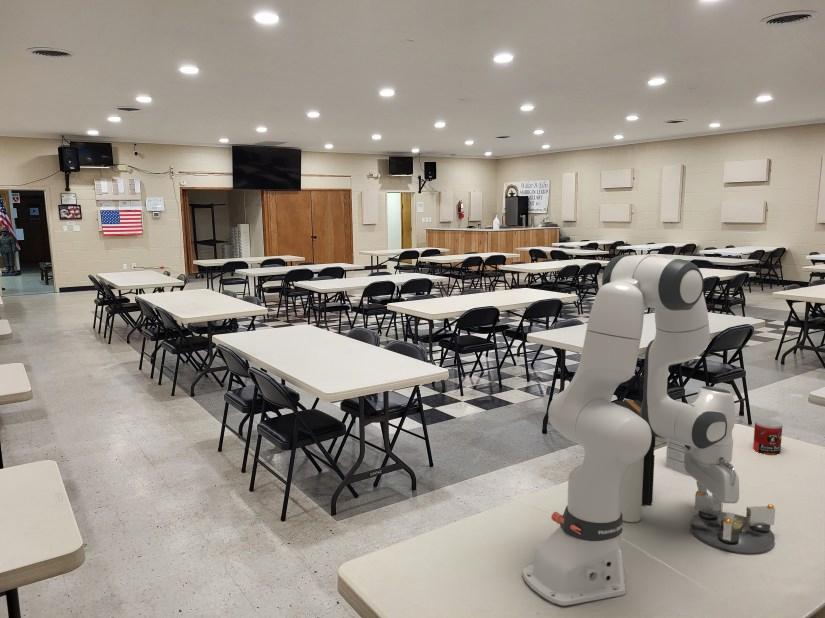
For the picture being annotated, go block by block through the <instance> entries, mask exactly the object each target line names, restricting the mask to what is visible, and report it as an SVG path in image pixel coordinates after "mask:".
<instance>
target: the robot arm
mask: <svg viewBox="0 0 825 618" xmlns="http://www.w3.org/2000/svg"><path fill="white" fill-rule="evenodd" d="M601 284H602V286H600V288H599V289H598V291H597V293H596V295H595V298H594V299H593V303H592V307H591V309H590V312H589V316H588V319H587V320H588V321H587V325H586V330H585V335H584V340H583V346H582V350H581V355H580V360H579V362H578V363H579V364H578V366H577V369H576V371H575V374H574V375H573V378H572V379H571V381H570V382H569V384H568V385H567V386H566V388H565V389H563V390H562V391H561V392H558V393H557V394H556V395H555V396H554V397H553V398H552V400H551V401H550V403H549V406H548V410H547V411H548V414H547V416H548V420H549V422H550V425H551V426H552V427H553V428H554V429H555V430H557V432H558V433H560V434H561V435H562V437H564V438H565V439H568V440H570V441H571V442H573V443H576V444H577V445H579V446H581V447H583V450H584V451H583V452H584V454H583V455H584V456H583V461H582V463H581V464H579V465H576V467H574V468H573V469H571V471H570V472H569V474H568V477H567V479H568V480H567V505H566V507H565V509H564V511H563V513H562V514H560V512H558V511H554V512H552V514H551V517H550V518H551V520H552V521H553V522H555V523H556V524H558V525H559V526H558V527H557V528H556V529H555V530H554V531H553V532H552V534H550V536H549V537H547V538H546V539H545V540H544V541H543V542H542V543H541V544H540V545H539V546H538V547H537V549H536V550H535V554H534V559H533V563H531V564H529V565H527V566H525V567H524V568H523V569H522V573H521V574H522V578H523V580H524V581H525V582H526V584H527V585H528V586H529V587H530V588H531V589H532V590H533V591H534V592H536V593H537V594H538V595H539V596H541V597H543V598H544V599H545V600H547V601H549V602H552V603H554V604H556V605H559V606H562V607H563V606H570V605H577V604H581V603H586V602H587V603H588V602H593V601H599V600H603V599H607V598H613V597H619V596H625V595H626V593H627V588H626V584H625V583H626V581H627V574H626V571H625V568H624V567H625V566H624V559H623V551H622V540H621V534H622V532H623V526H624V521H623V515H622V513H621V499H622V486H623V481H624V477H625V475H626V472H627V470H628V469H629V467H630V466H631V465H632V464H633V463H635V462H637V461H639V460H641V459H642V458H643V457H644V456H645V455H646V453H647V452H648V450H649V448H650V445H651V439H652V436H655V438H659V439H660V438H661V439H666V440H667V439H668V440H671V441H674V442H677V443H680V444H684V447H685V452H684V467H685V470H686V472H687V473H688V474H689V475H691V476H692V478H693V479H694V480H696V486H697V491H701V492H702V494H706V495H709V493H708V491H709V492H710V493H711V494H712V495H711V496H712V497H713V500H712V501H710V508H711V509H712V510H713V511H719V510H720V504H721V502H723V504H737V503H738V502H739V500H740V478H739V474H738V472H737V471H736V470H735V469H734V465H733V464H732V463H731V462H733V461H732V459H733V448H734V447H733V446H734V438H733V430H734V427H735V421H736V420H735V419H736V418H735V417H736V416H735V415H736V410H735V409H736V407H735V398H734V393H732V392H731V391H729V390H727V389H724V388H720V387H714V386H710V385H709V386H707V385H703V386H699V388H698V390H697V395H696V399H695V400H694V401H693V402H692V403H690V404H688V403H686V402H682V401H677V400H676V399H675V400H674V399H672V398H671V397H670V395H668V392H667V391H668V375H669V374H668V373H669V366H672V365H676V364H683V363H686V362H689V361H691V360H693V359H695V358H697V357H699V356H701V355H702V354H703V353H704V352H705V350H706V349H707V347H708V345H710V344H709V343H710V338H711V337H710V333H711V332H710V331H711V330H710V323H709V321H710V320H709V313H708V308H707V307H708V306H707V303H706V298H705V295H704V284H705V281H704V276H703V273H702V272H701V270H700V268H699V267H698V265H696V264H695V263H693V262H691V261H689V260H685V259H681V258H676V259H674V258H671V257H664V256H658V255H654V254H629V253H628V254H627V253H625V254H621V255H618V256H614V257H613V258H611V259H610V260H609V262H608V263H607V264H606V266H605V268H604V269H603V272H602V278H601ZM647 308H651V309H654V321H655V322H654V323H655V334H654V335H655V336H654V338H653V339H652V340H651V341H650V342H649V343H648V345H647V347H646V350H645V356H644V371H643V393H642V401H641V403H642V406H641V410H640V416H638V415H637V414H636V413H634V412H633V411H631V410H630V409H628V408H625V407H622V406H620V405H617V404H614V402H612V399H613V396H614V393H615V392H616V389H617V388H618V387H619V386H620V385H621V384H622V383H625V382H627V381H629V380H630V379H632V378H633V377H634V374H635V373H636V367H637V362H638V357H639V352H640V345H641V341H642V334H643V327H644V315H645V314H644V313H645V311H646V310H647ZM691 476H690V477H691Z"/></svg>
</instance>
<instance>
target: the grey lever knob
mask: <svg viewBox="0 0 825 618" xmlns="http://www.w3.org/2000/svg"><path fill="white" fill-rule="evenodd" d="M745 517H746V523H747V524H748V525H749V528H750V529H752V530H753V531H756V532H759V533H768V532H770V530H771V526H774V525H775V519H776V508H775V506H774V505H773V504H772V503H771V504H770V503H769V504H768V505H766V506H765V505H764V506H763V505H762V506H761V505H760V506H759V505H758V506H746V515H745Z"/></svg>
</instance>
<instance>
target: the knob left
mask: <svg viewBox="0 0 825 618" xmlns="http://www.w3.org/2000/svg"><path fill="white" fill-rule="evenodd" d="M694 498H695V499H694V510H695V511H698V513H697V514H698V515H699V517H700V518H702V519H705V520H709V521H715V520H717V519H718V516H720V517H721V515H722V512H723V506H724V503H723V502H721V504H720V510H719V511H713V510H712V509H711V508H710V501H712V500H713V497H712V495H710V494H708V495H706V494H702V492H701V491H698V490H696V492H695V496H694Z"/></svg>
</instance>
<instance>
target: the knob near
mask: <svg viewBox="0 0 825 618" xmlns="http://www.w3.org/2000/svg"><path fill="white" fill-rule="evenodd" d="M726 513H727V515H726V518H725V521H724V528H723V530H719V531H718V539H719V540H720V541H722V542H724V543H728V544H737V543H738V542H739V535H738V534H737V533H735V532H733V531H734V522H735V514H736V513H734V512H733V513H732V512H729V511H728V512H726Z"/></svg>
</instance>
